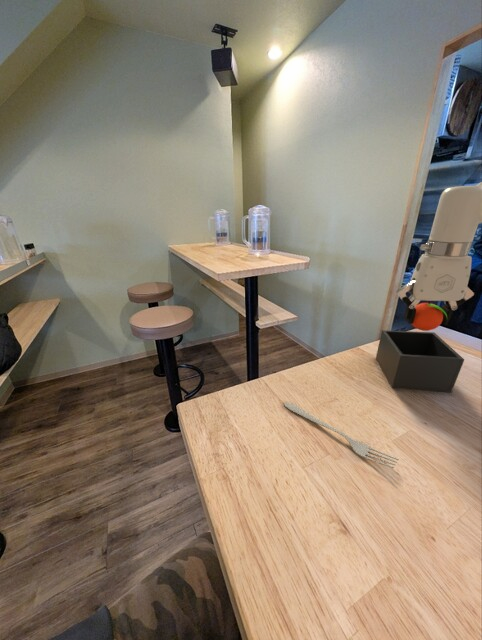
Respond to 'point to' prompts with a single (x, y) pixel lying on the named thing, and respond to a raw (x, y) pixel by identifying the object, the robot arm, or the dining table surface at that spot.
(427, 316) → the clementine
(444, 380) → the bin
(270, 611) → the dining table surface
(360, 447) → the fork
